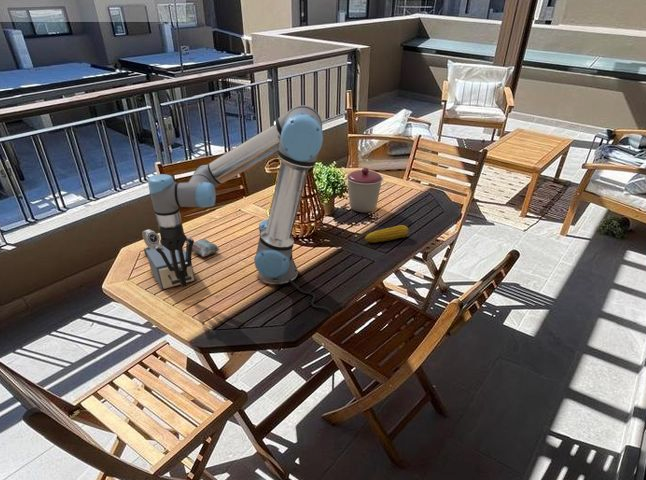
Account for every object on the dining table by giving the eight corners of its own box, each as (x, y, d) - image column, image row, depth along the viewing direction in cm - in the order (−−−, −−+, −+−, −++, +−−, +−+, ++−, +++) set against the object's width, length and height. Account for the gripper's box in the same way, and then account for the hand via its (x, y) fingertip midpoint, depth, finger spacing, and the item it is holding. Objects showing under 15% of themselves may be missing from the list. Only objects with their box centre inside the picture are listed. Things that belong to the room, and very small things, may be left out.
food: (402, 233, 208) (404, 221, 204) (409, 238, 204) (410, 226, 200) (362, 241, 200) (363, 229, 197) (368, 247, 196) (369, 234, 193)
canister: (381, 216, 222) (385, 174, 209) (345, 215, 222) (346, 173, 209) (379, 202, 237) (382, 162, 224) (345, 201, 236) (346, 161, 224)
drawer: (199, 287, 166) (196, 269, 161) (168, 296, 160) (164, 278, 156) (183, 264, 178) (179, 247, 174) (154, 272, 173) (149, 254, 169)
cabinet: (195, 280, 171) (190, 258, 165) (161, 289, 165) (156, 267, 160) (183, 263, 181) (178, 242, 175) (151, 272, 175) (145, 250, 169)
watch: (153, 260, 182) (147, 236, 176) (143, 254, 186) (136, 230, 180) (166, 255, 186) (160, 231, 179) (155, 249, 190) (149, 225, 183)
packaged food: (203, 261, 182) (201, 250, 180) (186, 251, 189) (184, 241, 186) (221, 254, 188) (219, 243, 185) (204, 245, 194) (202, 234, 191)
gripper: (186, 215, 151) (198, 275, 165) (146, 224, 145) (162, 285, 159) (193, 223, 146) (205, 284, 160) (152, 232, 140) (168, 295, 154)
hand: (183, 285), depth 160 cm, fingers closed
